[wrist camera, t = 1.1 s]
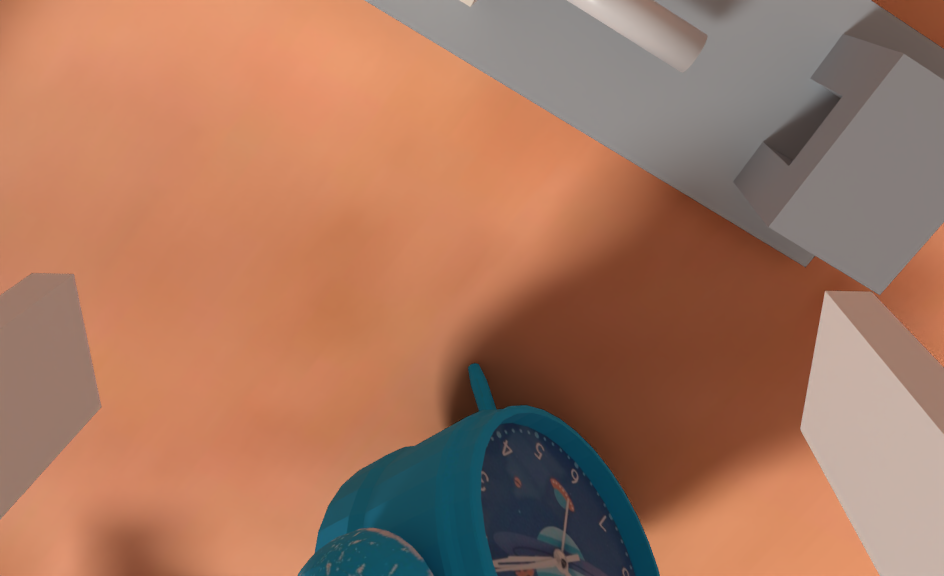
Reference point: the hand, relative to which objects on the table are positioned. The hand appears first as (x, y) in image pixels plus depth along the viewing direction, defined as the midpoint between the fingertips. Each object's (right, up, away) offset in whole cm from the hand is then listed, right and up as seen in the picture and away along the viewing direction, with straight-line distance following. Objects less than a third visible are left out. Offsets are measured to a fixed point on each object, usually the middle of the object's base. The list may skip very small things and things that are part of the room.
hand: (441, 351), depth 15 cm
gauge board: (+6, +13, +19) cm, 24 cm away
